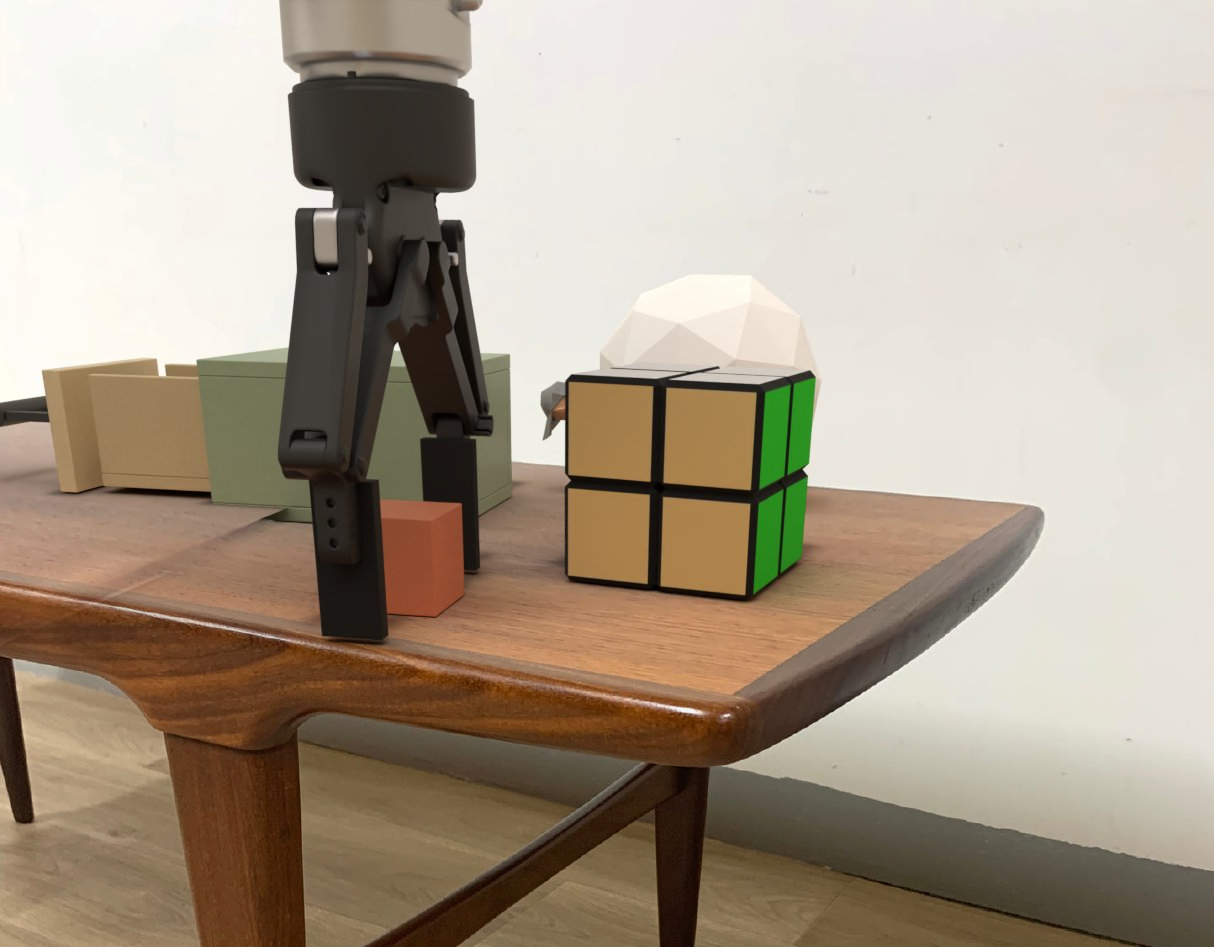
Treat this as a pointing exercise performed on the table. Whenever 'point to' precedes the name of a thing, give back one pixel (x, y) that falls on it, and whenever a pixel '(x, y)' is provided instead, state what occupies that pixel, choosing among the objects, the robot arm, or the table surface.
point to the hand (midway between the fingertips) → (409, 599)
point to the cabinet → (249, 434)
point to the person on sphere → (702, 332)
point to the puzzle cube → (686, 476)
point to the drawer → (121, 425)
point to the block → (422, 556)
